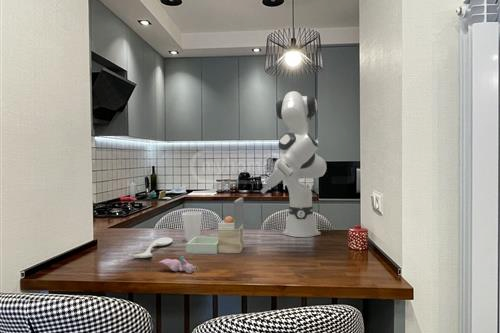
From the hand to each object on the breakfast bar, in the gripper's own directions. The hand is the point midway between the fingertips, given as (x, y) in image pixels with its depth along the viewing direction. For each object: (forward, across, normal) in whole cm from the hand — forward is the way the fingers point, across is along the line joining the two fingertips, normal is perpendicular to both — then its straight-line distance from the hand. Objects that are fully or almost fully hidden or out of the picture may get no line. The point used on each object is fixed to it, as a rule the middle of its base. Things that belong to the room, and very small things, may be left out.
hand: (263, 191), depth 143 cm
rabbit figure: (+38, +28, -1) cm, 47 cm away
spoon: (+52, +2, -16) cm, 54 cm away
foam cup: (+43, -18, -8) cm, 48 cm away
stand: (+28, -1, +8) cm, 29 cm away
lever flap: (+21, -1, +1) cm, 21 cm away
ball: (+19, 0, -2) cm, 19 cm away
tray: (+36, -1, 0) cm, 36 cm away
